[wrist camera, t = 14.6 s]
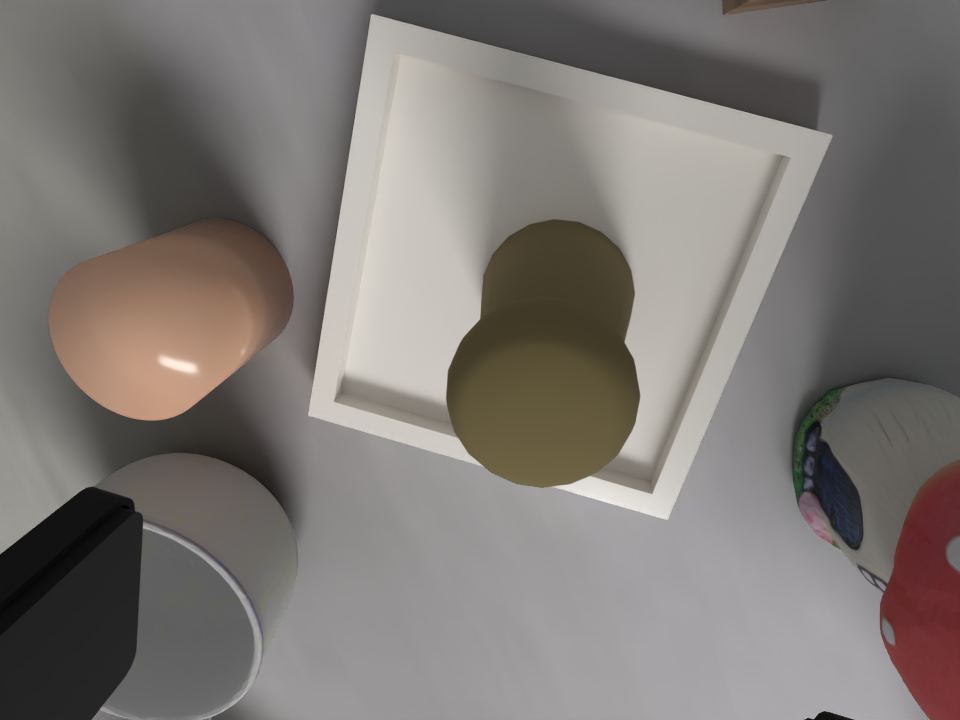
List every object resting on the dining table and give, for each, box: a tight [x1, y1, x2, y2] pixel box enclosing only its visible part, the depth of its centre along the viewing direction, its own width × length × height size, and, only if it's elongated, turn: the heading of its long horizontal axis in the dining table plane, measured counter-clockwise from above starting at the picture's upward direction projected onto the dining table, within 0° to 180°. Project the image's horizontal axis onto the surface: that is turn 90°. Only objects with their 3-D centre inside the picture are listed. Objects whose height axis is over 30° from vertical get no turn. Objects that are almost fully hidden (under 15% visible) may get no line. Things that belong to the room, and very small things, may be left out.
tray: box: [308, 14, 833, 520], centre depth 27 cm, size 16×16×2 cm
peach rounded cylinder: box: [49, 218, 294, 420], centre depth 27 cm, size 6×6×7 cm
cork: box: [446, 219, 640, 488], centre depth 22 cm, size 6×6×11 cm
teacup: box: [94, 453, 298, 720], centre depth 32 cm, size 14×11×8 cm
